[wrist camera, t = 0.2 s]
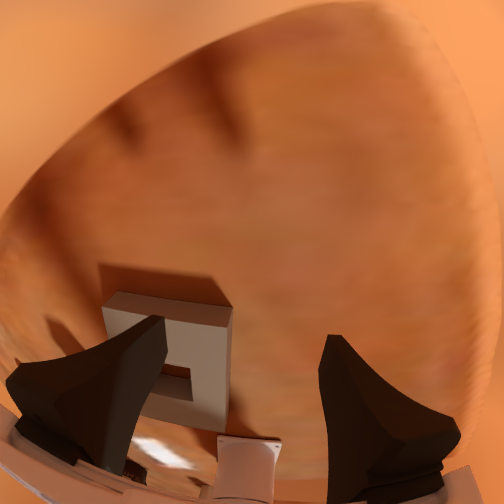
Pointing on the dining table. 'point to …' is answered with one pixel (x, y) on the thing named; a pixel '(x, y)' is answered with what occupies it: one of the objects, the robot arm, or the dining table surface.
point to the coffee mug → (134, 472)
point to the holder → (183, 357)
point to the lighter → (206, 492)
